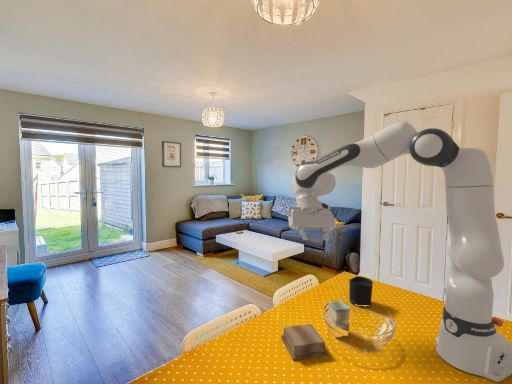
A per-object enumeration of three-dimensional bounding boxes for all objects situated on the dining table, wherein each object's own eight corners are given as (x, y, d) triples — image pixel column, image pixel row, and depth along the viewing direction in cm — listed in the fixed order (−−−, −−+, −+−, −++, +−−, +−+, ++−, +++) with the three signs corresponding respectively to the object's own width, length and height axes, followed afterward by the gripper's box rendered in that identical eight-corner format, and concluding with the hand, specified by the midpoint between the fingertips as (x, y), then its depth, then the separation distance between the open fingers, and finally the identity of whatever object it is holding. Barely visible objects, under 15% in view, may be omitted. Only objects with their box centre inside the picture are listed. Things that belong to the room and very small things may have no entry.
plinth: (311, 333, 93) (311, 322, 92) (327, 355, 82) (327, 342, 81) (281, 337, 90) (281, 326, 90) (293, 360, 79) (293, 347, 79)
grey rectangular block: (340, 327, 96) (341, 301, 96) (349, 336, 91) (350, 308, 91) (327, 329, 95) (328, 302, 94) (335, 338, 90) (336, 309, 89)
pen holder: (346, 297, 120) (347, 275, 120) (367, 298, 120) (368, 276, 119) (351, 307, 111) (352, 284, 110) (374, 308, 110) (375, 285, 110)
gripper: (290, 202, 103) (297, 236, 96) (332, 205, 110) (342, 237, 104) (282, 210, 108) (289, 242, 101) (324, 212, 115) (332, 242, 109)
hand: (316, 239), depth 103 cm, fingers open, 8 cm apart
